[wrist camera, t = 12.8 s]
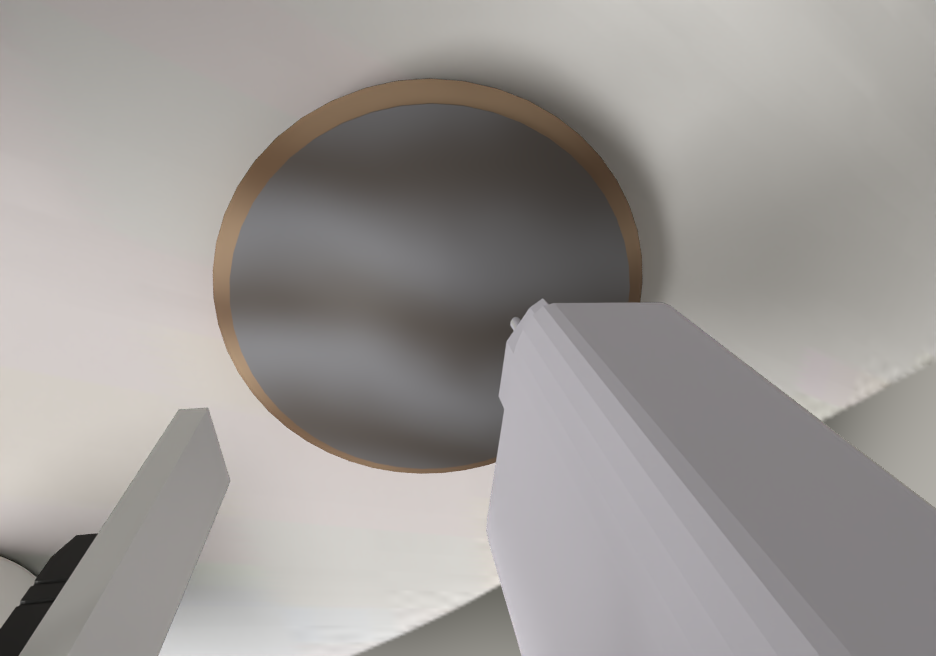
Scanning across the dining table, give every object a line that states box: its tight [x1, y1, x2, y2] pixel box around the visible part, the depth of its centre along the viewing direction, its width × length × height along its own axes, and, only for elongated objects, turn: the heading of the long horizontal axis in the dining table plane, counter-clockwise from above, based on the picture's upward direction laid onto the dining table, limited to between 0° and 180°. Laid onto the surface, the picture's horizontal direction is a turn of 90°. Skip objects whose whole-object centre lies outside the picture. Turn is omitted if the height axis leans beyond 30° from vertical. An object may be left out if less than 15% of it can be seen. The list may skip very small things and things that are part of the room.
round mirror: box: [213, 79, 642, 473], centre depth 23 cm, size 19×19×2 cm
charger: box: [486, 298, 936, 656], centre depth 14 cm, size 5×9×15 cm, turn 175°
